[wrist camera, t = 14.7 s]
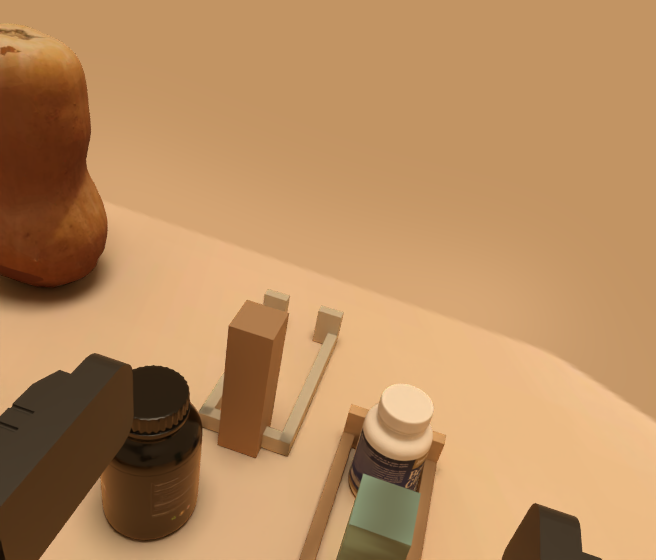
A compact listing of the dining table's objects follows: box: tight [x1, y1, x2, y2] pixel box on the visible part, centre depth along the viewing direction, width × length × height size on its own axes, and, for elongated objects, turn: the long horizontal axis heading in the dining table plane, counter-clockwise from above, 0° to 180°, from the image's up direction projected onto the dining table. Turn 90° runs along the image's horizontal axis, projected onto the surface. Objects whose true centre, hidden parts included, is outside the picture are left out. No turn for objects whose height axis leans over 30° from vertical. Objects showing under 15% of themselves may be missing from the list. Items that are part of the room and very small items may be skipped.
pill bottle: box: [349, 384, 434, 496], centre depth 48 cm, size 5×5×10 cm
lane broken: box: [198, 289, 344, 458], centre depth 54 cm, size 8×17×13 cm, turn 164°
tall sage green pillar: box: [299, 405, 446, 560], centre depth 43 cm, size 8×17×13 cm, turn 164°
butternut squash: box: [0, 23, 107, 288], centre depth 58 cm, size 14×13×25 cm
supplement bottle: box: [100, 365, 202, 540], centre depth 42 cm, size 7×7×12 cm
